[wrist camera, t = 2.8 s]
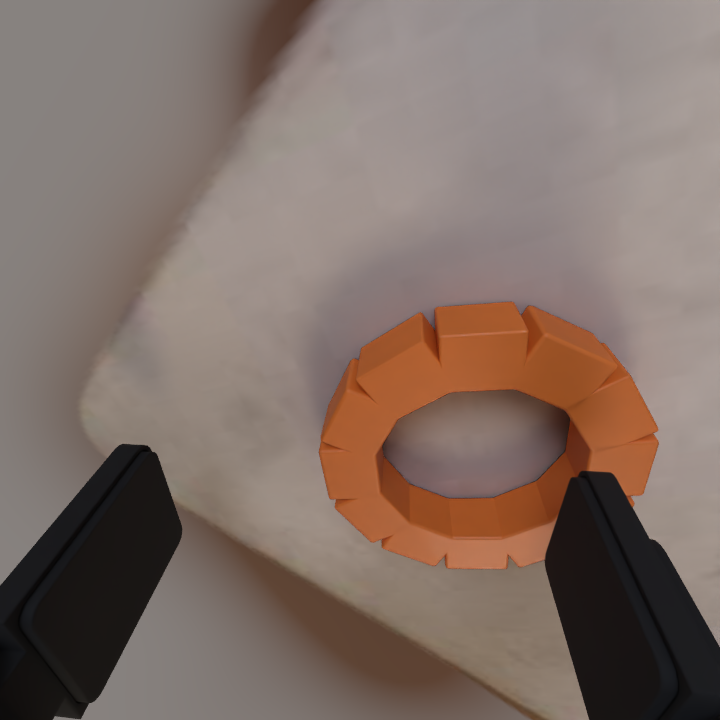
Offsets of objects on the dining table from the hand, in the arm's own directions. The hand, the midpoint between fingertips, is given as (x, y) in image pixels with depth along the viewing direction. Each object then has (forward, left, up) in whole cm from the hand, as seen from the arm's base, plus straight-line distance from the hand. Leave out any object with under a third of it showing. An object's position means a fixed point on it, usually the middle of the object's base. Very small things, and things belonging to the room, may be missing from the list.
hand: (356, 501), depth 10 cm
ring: (+1, +2, -2) cm, 4 cm away
